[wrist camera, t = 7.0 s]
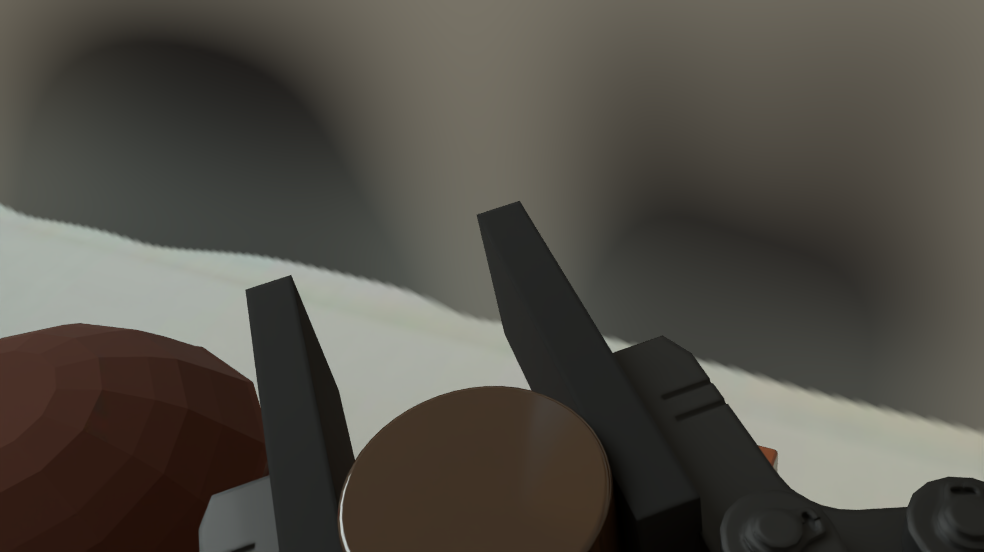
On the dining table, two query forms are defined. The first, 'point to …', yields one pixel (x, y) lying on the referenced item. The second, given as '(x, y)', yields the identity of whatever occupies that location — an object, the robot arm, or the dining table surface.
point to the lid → (482, 479)
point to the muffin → (118, 439)
